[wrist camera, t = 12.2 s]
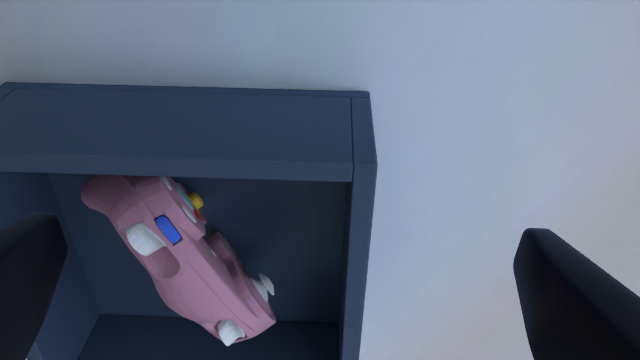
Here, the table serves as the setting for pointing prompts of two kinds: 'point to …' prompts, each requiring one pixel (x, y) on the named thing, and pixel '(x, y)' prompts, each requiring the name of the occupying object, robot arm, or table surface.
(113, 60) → the table surface
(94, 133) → the open box
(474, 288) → the table surface
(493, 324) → the table surface
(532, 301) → the robot arm
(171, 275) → the video game controller
